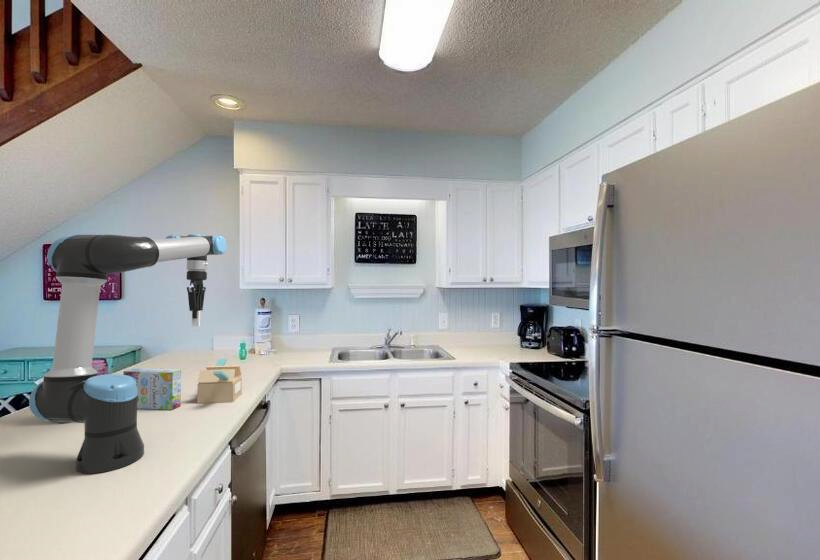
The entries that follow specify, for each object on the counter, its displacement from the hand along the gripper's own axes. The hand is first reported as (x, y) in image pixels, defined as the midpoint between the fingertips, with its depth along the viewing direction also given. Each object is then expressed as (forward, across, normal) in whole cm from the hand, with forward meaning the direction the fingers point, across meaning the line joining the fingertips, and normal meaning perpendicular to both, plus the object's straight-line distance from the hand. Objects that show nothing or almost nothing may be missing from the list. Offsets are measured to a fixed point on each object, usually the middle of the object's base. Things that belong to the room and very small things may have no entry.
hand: (195, 326), depth 161 cm
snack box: (+32, -8, +13) cm, 35 cm away
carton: (+31, 0, -10) cm, 33 cm away
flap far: (+20, +4, -10) cm, 23 cm away
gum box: (+31, +15, +48) cm, 59 cm away
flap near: (+21, -4, -10) cm, 23 cm away
